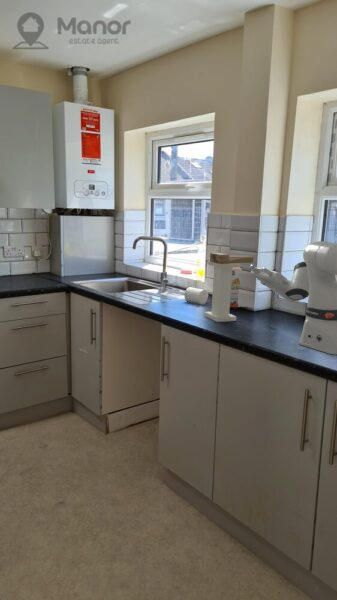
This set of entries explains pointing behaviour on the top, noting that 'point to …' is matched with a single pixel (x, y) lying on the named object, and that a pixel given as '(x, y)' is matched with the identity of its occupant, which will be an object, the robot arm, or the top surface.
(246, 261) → the mallet
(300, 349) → the top surface
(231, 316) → the stand
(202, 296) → the mug
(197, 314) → the top surface
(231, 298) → the cracker box
